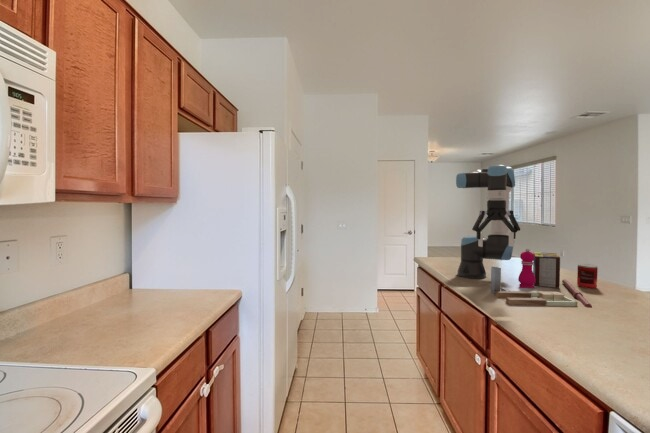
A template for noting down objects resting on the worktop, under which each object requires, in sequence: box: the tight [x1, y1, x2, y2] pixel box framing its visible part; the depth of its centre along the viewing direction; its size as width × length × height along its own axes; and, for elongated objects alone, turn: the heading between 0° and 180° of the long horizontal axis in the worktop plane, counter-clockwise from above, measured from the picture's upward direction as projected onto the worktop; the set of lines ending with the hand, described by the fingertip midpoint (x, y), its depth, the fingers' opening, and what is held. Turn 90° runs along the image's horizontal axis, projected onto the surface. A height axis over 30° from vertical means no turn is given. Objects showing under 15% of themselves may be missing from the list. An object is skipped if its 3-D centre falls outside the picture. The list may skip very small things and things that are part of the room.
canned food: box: [576, 263, 599, 290], centre depth 158 cm, size 8×8×11 cm
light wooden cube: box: [548, 291, 565, 301], centre depth 133 cm, size 4×4×4 cm
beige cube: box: [536, 291, 553, 301], centre depth 133 cm, size 4×4×4 cm
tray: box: [529, 291, 578, 307], centre depth 133 cm, size 14×12×3 cm
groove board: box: [494, 290, 547, 307], centre depth 134 cm, size 14×14×3 cm
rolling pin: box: [561, 279, 593, 308], centre depth 145 cm, size 45×3×3 cm, turn 152°
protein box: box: [532, 251, 561, 289], centre depth 164 cm, size 10×15×16 cm
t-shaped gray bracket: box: [490, 266, 511, 295], centre depth 144 cm, size 6×7×13 cm
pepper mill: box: [517, 248, 536, 289], centre depth 155 cm, size 7×7×20 cm
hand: (495, 246), depth 144 cm, fingers open, 13 cm apart
